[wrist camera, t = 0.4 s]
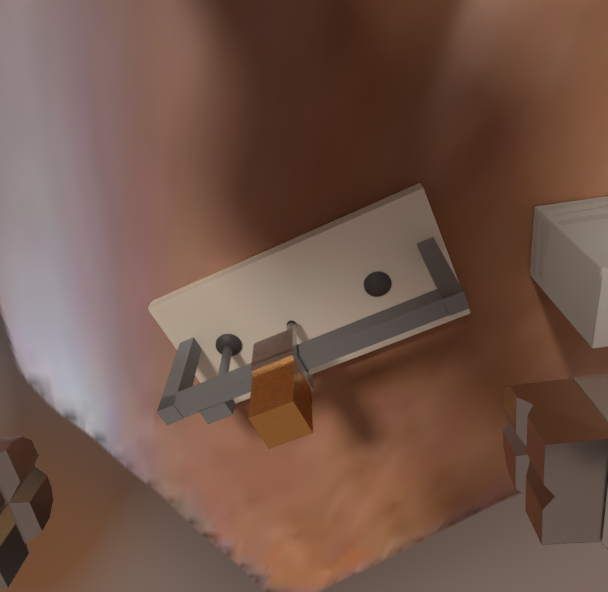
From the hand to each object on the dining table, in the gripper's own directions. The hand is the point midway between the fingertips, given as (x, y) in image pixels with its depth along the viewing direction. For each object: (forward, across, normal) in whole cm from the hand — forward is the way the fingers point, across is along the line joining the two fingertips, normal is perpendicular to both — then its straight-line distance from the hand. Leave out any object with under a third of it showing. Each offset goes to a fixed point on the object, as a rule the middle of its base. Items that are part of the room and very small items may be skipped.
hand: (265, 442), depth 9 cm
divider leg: (+39, +4, +15) cm, 43 cm away
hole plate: (+42, +2, +16) cm, 45 cm away
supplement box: (+42, -23, +12) cm, 50 cm away
